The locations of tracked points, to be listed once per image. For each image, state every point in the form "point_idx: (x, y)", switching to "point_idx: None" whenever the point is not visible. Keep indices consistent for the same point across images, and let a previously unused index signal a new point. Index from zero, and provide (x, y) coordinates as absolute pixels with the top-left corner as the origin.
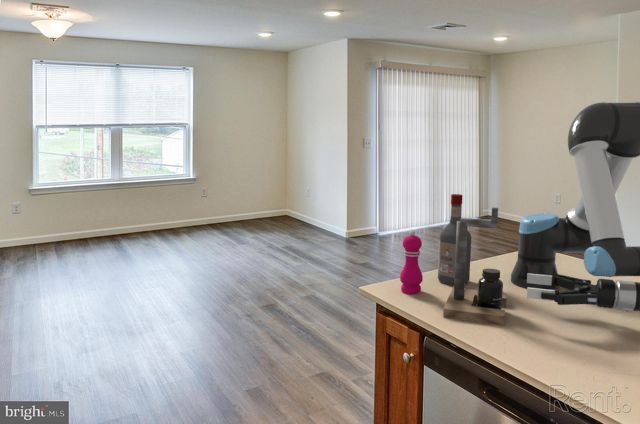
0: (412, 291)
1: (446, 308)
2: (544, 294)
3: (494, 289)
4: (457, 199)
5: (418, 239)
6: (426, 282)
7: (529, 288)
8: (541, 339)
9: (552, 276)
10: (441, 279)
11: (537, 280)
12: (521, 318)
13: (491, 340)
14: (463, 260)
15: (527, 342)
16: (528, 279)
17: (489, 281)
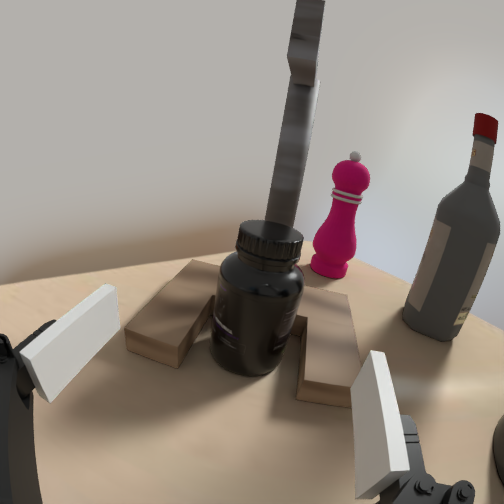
0: (312, 263)
1: (193, 262)
2: (42, 328)
3: (218, 280)
4: (478, 122)
5: (348, 165)
6: (390, 291)
7: (100, 287)
8: None
9: (410, 477)
10: (406, 299)
11: (362, 416)
12: (180, 413)
13: (59, 300)
14: (274, 182)
15: None
16: (358, 379)
17: (236, 253)
